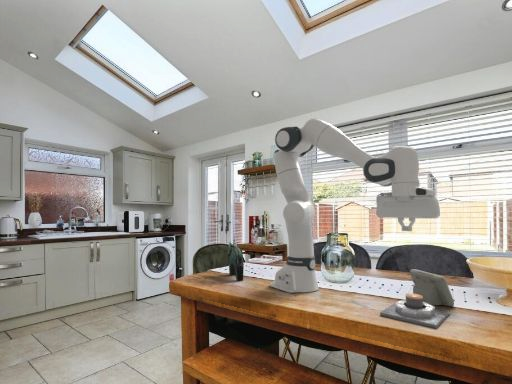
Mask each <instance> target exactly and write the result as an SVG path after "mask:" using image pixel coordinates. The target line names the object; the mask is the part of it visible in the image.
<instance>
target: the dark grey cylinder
mask: <svg viewBox="0 0 512 384" xmlns="http://www.w3.org/2000/svg"><path fill="white" fill-rule="evenodd" d="M405 300H406V307H410V308H415V309H423V296H421V295H418V294H413V293H406V294H405Z"/></svg>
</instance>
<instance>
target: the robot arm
mask: <svg viewBox="0 0 512 384" xmlns="http://www.w3.org/2000/svg"><path fill="white" fill-rule="evenodd" d="M274 142H275V146H276V147H277V148H278V151H277V152H276V153H275V154H274V159H273V160H274V167H275V168H274V169H275V173H276V177H277V181H278V184H279V187H280V192H281V193H282V195H283V197H284V199H285V201H286V203H287V204H286V205H285V206H284V208H283V212H282V216H283V218H284V221H285V227H286V231H287V232H286V233H287V237H288V238H287V239H288V256H287V257H286V256H285V258H284V261H286V262H285V264H284V265H283V266H282V267H281V268H279V270H277V271H276V272H275V276H274V281H272V282H270V284H269V287H272V288H275V289H277V290H281V291H284V292H285V293H286V292H287V293H290V294H292V293H311V292H315V291H318V290H319V289H320V287H319V283H318V281H317V280H318V279H317V276H316V257H315V252H314V250H315V247H314V236H313V233H312V232H313V231H312V226H311V222H312V221H313V220H314V219H315V215H316V209H315V207H314V205H313V202H312V199H311V197H310V194H309V192H308V190H307V188H306V185H305V181H304V177H303V174H302V170H301V167H300V165H299V158H302V157H304V156H305V155H306V154H307V153H309V152H310V151H312V150H313V148H314V147H315V148H317V149H318V150H320V151H321V152H323V153H325V154H327V155H330V156H333V157H336V158H340V159H343V160H346V161H349V162H351V163H354V164H355V165H356V166H358V167H359V168H361V169H362V170H363V176H364V178H365V179H366V180H367V181H369V182H370V183H373V184H376V185H380V186H381V187H390V186H391V192H380V193H378V194H377V195H376V199H375V201H376V210H375V211H376V212H375V214H376V217H378V218H385V219H386V218H396V219H397V222H398V223H399V225H400V226H401V231H402V232H412V231H413V226H414V224H415V222H416V219H438V218H440V217H441V208H440V207H441V206H440V203H439V200H438V198H436V190H435V189H432V188H427V187H425V186H421V185H420V180H419V172H420V163H419V157H418V156H419V155H418V152H417V150H416V149H414V148H413V147H411V146H405V145H397V146H394V147H392V148H391V149H390V150H389V151H387V152H385V153H384V154H381V155H379V156H377V157H375V156H373V155H371V154H370V153H368V152H366V151H365V150H363V149H362V148H360V147H359V146H358V145H357V144H355V143H354V142H353V141H352V140H351V139H350V137H348V136H347V135H346V134H345V133H344V132H342V131H341V129H339V128H337V127H335V126H334V125H332V124H331V123H329V122H326V121H324V120H322V119H318V118H310V119H308V120H307V121H306V122H305V123H304V125H303V126H302V127H300V128H299V126H286V127H282V128H280V129H279V130H277V132H276V134H275V137H274ZM405 219H408V221H409V224H408V225H405V222H404V221H405Z"/></svg>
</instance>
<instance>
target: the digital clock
mask: <svg viewBox="0 0 512 384" xmlns="http://www.w3.org/2000/svg"><path fill="white" fill-rule="evenodd" d="M409 274H410V277H411V280H412V282H413V286H412V294H418V295H421V296H423V302H425V303H428V304H430V305H432V306H433V307H434V306H441V305H443V306H448V307H453V306H455V300H454V298H453V295H452V293H451V290H450V287H449V285H448V284H449V283H448V282H447V279H446V278H445V276H442V275H439V274H436V273H430V272H427V271H423V270H420V269H414V268H413V269H412V268H411V269H410V270H409Z"/></svg>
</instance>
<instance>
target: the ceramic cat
mask: <svg viewBox="0 0 512 384" xmlns="http://www.w3.org/2000/svg"><path fill="white" fill-rule="evenodd" d="M235 242H236V240H235V239H233V243H232V242H229V243H228V245H227V252H226V253H227V256H228V257H229V261H228V274H229V276H235V279H236V281H237V282H243V281H244V271H245V270H244V266H245V265H244V264H245V263H244V258H243V257H244V255H243V252H242V251H241V248H239V247H238V245H237V243H235Z"/></svg>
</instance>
